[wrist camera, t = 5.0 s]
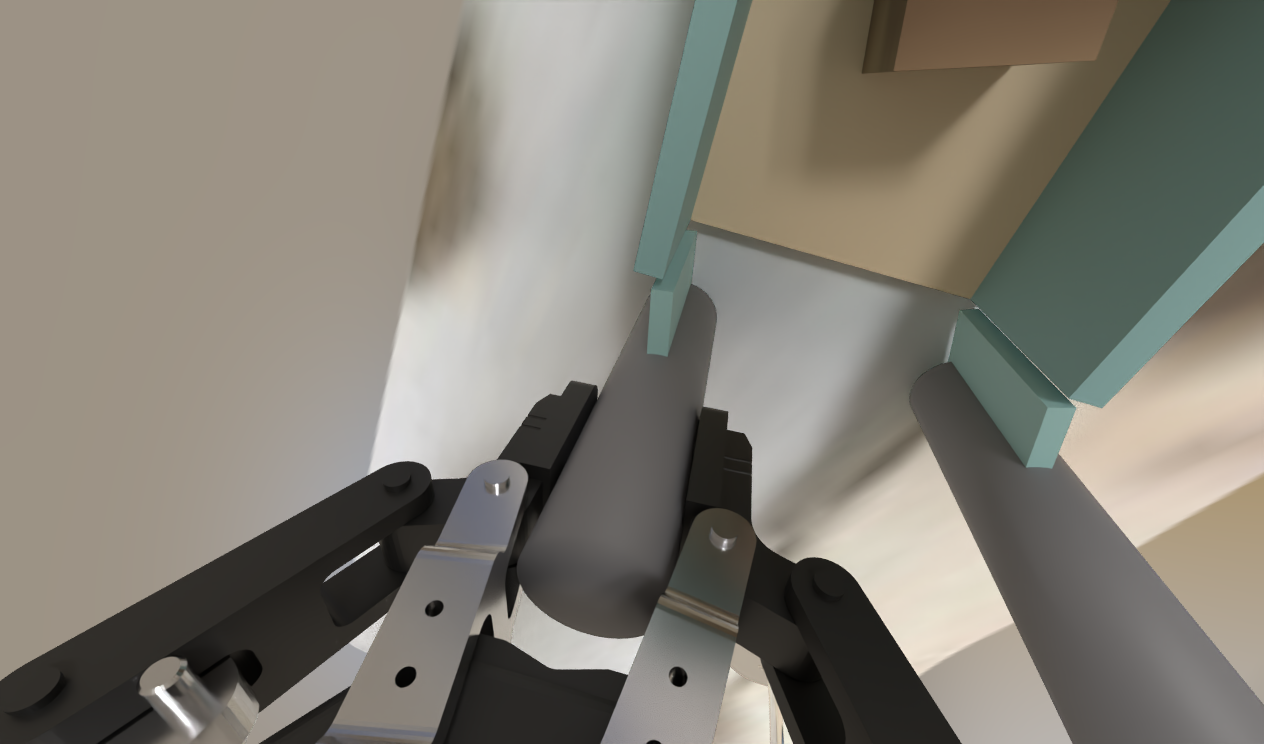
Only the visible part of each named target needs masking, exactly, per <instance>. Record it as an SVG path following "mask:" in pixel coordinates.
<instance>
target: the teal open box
mask: <svg viewBox="0 0 1264 744" xmlns="http://www.w3.org/2000/svg"><path fill="white" fill-rule="evenodd" d="M873 4H874V0H695V3H694V7H693V12H692V16H691V21H690V25H689V29H688V34H687V38H686V42H685V47H684V51H683V56H682V60H681V64H680V69H679V73H678V77H677V82H676V86H675V91H674V95H673V99H672V104H671V108H670V112H669V117H668V121H667V126H666V130H665V134H664V139H663V143H662V147H661V152H660V156H659V161H658V165H657V169H656V174H655V178H654V182H653V187H652V191H651V196H650V200H649V204H648V209H647V213H646V217H645V222H644V226H643V231H642V235H641V239H640V244H639V248H638V252H637V257H636V261H635V266H634V270H633V271H635V272H639V273H642V274H645V275H649V276H652V277H656V278H659V279H662V280H663V278H664V275H665V273H666V271H667V269H668V267H669V265H670V263H671V261H672V258H673V256H674V254H675V252H676V250H677V248H678V246H679V244H680V241H681V239H682V237H683V235H684V233H685V231H686V229H687V227H688V224H689V222H690V220H692V221H695V222H699V223H702V224H706V225H710V226H713V227H717V228H720V229H724V230H727V231H731V232H734V233H738V234H741V235H745V236H748V237H752V238H756V239H759V240H763V241H766V242H770V243H773V244H777V245H780V246H784V247H787V248H791V249H794V250H798V251H802V252H805V253H809V254H812V255H816V256H819V257H823V258H826V259H830V260H833V261H837V262H840V263H844V264H848V265H851V266H855V267H858V268H862V269H865V270H869V271H872V272H876V273H879V274H883V275H886V276H890V277H894V278H897V279H901V280H904V281H908V282H911V283H915V284H918V285H922V286H925V287H929V288H932V289H936V290H940V291H943V292H947V293H950V294H954V295H957V296H961V297H964V298H968V299H971V300H972V301H973V302H974V303H975V304H976V305H977V306H978V307H979V308H980V309H981V310H982V311H983V312H984V313H985V314H986V315H987V316H988V318H989V319H990V320H991V321H992V322H993V323H994V324H995V325H996V326H997V327H998V328H999V329H1000V330H1001V331H1002V332H1003V333H1004V334H1005V335H1006V336H1007V337H1008V338H1009V339H1010V340H1011V341H1012V342H1013V343H1014V344H1015V345H1016V346H1017V347H1018V348H1019V349H1020V350H1021V351H1022V352H1023V353H1024V354H1025V355H1026V356H1027V357H1028V358H1029V359H1030V360H1031V361H1032V362H1033V363H1034V364H1035V365H1036V366H1037V367H1038V368H1039V369H1040V370H1041V371H1042V372H1043V373H1044V374H1045V375H1046V376H1047V377H1048V378H1049V379H1050V380H1051V381H1052V382H1053V383H1054V384H1055V385H1056V386H1057V387H1058V388H1059V389H1060V390H1061V391H1062V392H1063V393H1064V394H1065V395H1066V396H1067V397H1068V398H1069V399H1072V400H1076V401H1079V402H1083V403H1086V404H1090V405H1093V406H1096V407H1100V408H1103V407H1104V406H1105V405H1106V404H1107V403H1108V401H1109V400H1110V399H1111V398H1112V397H1113V396H1114V395H1115V394H1116V393H1117V392H1118V391H1119V390H1120V389H1121V388H1122V387H1123V386H1124V385H1125V384H1126V383H1127V382H1128V381H1129V380H1130V379H1131V378H1132V377H1133V376H1134V375H1135V374H1136V373H1137V372H1138V371H1139V370H1140V369H1141V368H1142V367H1143V366H1144V365H1145V364H1146V363H1147V362H1148V361H1149V360H1150V359H1151V358H1152V356H1153V355H1154V354H1155V353H1156V352H1157V351H1158V350H1159V349H1160V348H1161V347H1162V346H1163V345H1164V344H1165V343H1166V342H1167V341H1168V340H1169V339H1170V338H1171V337H1172V336H1173V335H1174V334H1175V333H1176V332H1177V331H1178V330H1179V329H1180V328H1181V327H1182V326H1183V325H1184V324H1185V323H1186V322H1187V321H1188V320H1189V319H1190V318H1191V317H1192V316H1193V315H1194V314H1195V312H1196V311H1197V310H1198V309H1199V308H1200V307H1201V306H1202V305H1203V304H1204V303H1205V302H1206V301H1207V300H1208V299H1209V298H1210V297H1211V296H1212V295H1213V294H1214V293H1215V292H1216V291H1217V290H1218V289H1219V288H1220V287H1221V286H1222V285H1223V284H1224V283H1225V282H1226V281H1227V280H1228V279H1229V278H1230V277H1231V276H1232V275H1233V274H1234V273H1235V272H1236V271H1237V270H1238V268H1239V267H1240V266H1241V265H1242V264H1243V263H1244V262H1245V261H1246V260H1247V259H1248V258H1249V257H1250V256H1251V255H1252V254H1253V253H1254V252H1255V251H1256V250H1257V249H1258V248H1259V247H1260V246H1261V245H1262V244H1263V243H1264V0H1119V1H1118V3H1117V6H1116V8H1115V11H1114V14H1113V16H1112V19H1111V22H1110V24H1109V27H1108V29H1107V32H1106V35H1105V37H1104V40H1103V43H1102V45H1101V48H1100V50H1099V53H1098V56H1097V58H1096V61H1081V62H1065V63H1049V64H1034V65H1018V66H1000V67H981V68H962V69H943V70H924V71H904V72H885V73H866V74H862V68H863V62H864V56H865V50H866V45H867V39H868V33H869V27H870V21H871V16H872V10H873Z"/></svg>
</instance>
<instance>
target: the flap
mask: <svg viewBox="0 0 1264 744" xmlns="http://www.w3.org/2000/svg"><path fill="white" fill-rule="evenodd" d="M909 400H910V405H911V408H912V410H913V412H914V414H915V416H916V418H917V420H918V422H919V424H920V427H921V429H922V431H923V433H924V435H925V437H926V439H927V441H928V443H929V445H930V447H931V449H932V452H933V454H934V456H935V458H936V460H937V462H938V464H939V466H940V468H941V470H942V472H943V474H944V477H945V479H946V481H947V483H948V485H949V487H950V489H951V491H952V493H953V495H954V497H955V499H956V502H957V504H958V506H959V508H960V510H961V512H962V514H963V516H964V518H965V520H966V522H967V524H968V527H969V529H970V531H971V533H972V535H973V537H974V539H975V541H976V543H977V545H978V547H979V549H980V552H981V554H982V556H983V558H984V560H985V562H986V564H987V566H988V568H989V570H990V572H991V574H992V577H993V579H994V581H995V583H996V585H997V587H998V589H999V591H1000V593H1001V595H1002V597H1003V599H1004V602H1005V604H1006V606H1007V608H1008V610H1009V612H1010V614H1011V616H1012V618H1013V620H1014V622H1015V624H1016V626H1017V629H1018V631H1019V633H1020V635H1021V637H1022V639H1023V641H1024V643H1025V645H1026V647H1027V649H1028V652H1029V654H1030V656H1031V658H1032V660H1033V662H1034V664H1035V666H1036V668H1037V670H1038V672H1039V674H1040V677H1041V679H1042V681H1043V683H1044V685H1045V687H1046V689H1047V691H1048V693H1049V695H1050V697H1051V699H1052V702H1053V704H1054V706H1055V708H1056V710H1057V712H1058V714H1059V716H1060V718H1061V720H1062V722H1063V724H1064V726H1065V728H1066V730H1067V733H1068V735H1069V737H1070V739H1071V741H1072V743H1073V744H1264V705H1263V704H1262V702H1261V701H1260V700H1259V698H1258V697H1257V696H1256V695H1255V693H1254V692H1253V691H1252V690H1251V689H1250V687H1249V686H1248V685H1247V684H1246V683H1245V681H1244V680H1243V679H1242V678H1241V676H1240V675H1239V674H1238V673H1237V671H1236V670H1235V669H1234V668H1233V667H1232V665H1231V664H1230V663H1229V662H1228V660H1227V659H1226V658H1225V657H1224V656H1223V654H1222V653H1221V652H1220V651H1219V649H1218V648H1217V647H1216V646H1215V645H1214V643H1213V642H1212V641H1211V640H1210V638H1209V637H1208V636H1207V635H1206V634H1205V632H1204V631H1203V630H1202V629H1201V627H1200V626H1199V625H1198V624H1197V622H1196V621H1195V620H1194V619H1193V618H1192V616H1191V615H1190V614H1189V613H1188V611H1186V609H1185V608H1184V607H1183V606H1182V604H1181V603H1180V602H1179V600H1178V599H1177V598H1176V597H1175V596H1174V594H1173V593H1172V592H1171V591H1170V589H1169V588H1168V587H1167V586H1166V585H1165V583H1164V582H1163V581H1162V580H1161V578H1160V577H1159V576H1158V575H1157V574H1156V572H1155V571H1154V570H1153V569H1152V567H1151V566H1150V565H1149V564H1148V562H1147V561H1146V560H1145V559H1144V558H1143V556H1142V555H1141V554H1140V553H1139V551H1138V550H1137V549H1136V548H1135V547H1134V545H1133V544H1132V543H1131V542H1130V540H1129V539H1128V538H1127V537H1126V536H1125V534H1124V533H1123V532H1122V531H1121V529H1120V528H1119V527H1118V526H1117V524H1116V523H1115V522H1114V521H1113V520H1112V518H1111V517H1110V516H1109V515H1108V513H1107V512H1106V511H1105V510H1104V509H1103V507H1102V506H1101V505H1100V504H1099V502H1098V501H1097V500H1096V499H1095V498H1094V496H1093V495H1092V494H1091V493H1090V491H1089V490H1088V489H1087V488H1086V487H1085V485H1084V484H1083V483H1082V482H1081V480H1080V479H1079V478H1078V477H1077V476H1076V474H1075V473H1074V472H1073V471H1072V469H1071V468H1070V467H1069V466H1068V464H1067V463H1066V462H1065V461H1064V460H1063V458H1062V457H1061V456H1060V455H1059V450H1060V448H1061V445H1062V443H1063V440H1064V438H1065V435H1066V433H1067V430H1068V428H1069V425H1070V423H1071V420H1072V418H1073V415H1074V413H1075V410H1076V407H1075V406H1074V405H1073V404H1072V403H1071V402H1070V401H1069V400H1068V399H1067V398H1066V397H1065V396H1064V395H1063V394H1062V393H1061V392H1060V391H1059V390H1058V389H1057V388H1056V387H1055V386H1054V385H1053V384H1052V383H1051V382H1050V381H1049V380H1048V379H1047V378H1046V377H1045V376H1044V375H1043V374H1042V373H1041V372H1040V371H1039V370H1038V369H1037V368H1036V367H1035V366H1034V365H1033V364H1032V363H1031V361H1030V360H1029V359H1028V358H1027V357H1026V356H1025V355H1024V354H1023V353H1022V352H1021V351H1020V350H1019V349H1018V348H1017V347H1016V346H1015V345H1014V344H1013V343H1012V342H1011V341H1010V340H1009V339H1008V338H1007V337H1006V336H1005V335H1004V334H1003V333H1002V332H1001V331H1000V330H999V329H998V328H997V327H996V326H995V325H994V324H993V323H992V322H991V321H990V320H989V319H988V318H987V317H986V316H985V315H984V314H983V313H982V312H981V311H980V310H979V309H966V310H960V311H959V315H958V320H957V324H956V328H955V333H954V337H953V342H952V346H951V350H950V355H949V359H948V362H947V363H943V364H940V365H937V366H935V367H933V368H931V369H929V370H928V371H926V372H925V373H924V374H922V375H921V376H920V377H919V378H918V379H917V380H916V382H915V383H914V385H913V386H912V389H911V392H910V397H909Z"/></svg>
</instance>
